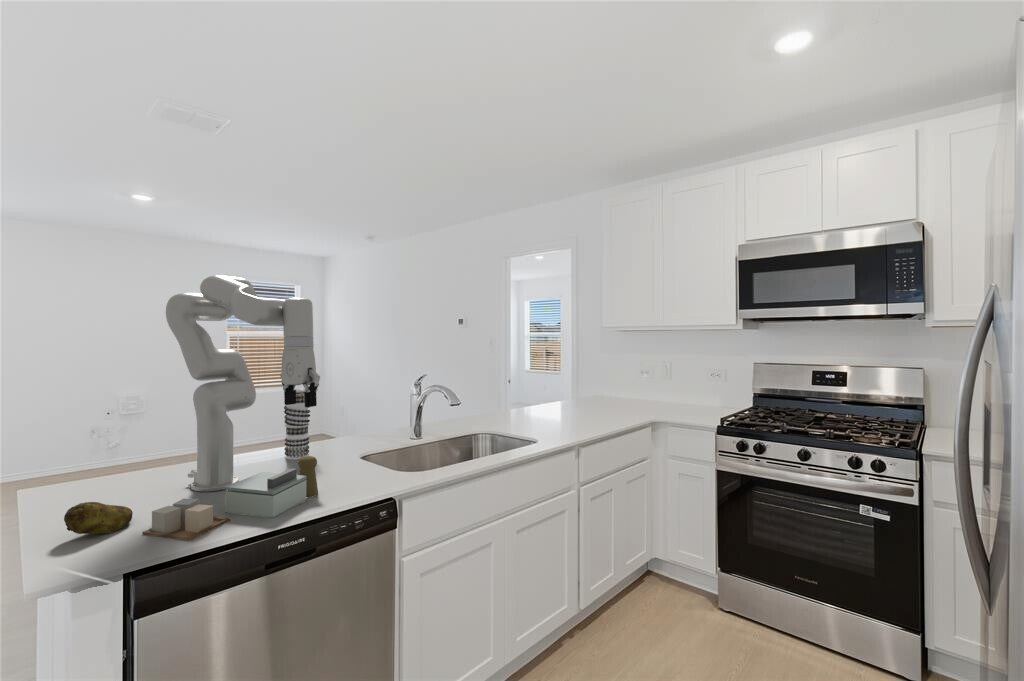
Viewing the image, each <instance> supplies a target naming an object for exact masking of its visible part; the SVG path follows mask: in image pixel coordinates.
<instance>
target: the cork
mask: <svg viewBox="0 0 1024 681" xmlns="http://www.w3.org/2000/svg"><path fill="white" fill-rule="evenodd" d="M317 463H318V460H317V458H316V457H315V456H312V455H309V456H305V457H302V458H300V459H298V461H297V467H298V468H299V471H298V475H304V476H306V479H305V480H306V497H309V498H313V497H315V495H316V496H318V494H319V488H318V480H317V474H316V473H317V472H316V467H317V465H318V464H317ZM312 496H313V497H312Z"/></svg>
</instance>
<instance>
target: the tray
mask: <svg viewBox="0 0 1024 681" xmlns="http://www.w3.org/2000/svg"><path fill="white" fill-rule="evenodd" d="M230 521H231V518H230V517H223V516H215V515H213V525H212V526H210V527H207V528H205V529H203V530H201V531H199V532H189V531H185V525H181V529H178V530H176V531H173V532H171V533H161V532H153V531H152V527H151V528H148V529H146V530H143V531H142V533H141V534H142V536H147V537H148V536H149V537H150V536H151V537H158V538H165V539H166V538H167V539H173V540H183V541H189V542H190V541H193V540H194V539H196V538H199V537H201V536H202V535H205V534H206V533H208V532H211V531H212V530H214V529H216V528H218V527H220V526H223V525H224V524H226V523H228V522H230Z"/></svg>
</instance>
